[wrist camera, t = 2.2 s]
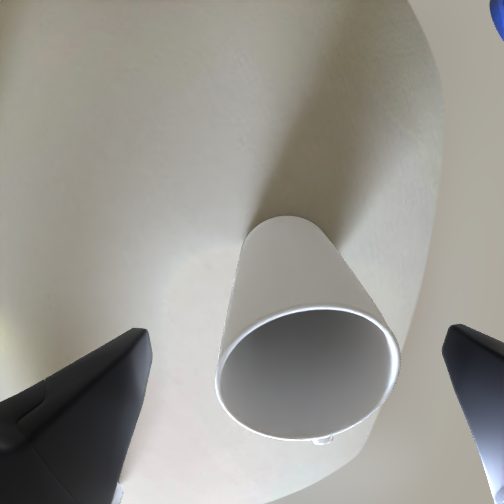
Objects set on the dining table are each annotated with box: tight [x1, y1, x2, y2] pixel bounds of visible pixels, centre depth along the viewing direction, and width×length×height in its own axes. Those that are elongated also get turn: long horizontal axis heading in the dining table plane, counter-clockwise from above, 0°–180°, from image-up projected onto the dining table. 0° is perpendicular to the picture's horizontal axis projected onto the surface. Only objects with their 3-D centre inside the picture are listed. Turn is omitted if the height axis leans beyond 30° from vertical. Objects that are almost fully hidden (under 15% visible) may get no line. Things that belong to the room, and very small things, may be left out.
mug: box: [215, 216, 401, 445], centre depth 17 cm, size 10×7×12 cm, turn 14°
